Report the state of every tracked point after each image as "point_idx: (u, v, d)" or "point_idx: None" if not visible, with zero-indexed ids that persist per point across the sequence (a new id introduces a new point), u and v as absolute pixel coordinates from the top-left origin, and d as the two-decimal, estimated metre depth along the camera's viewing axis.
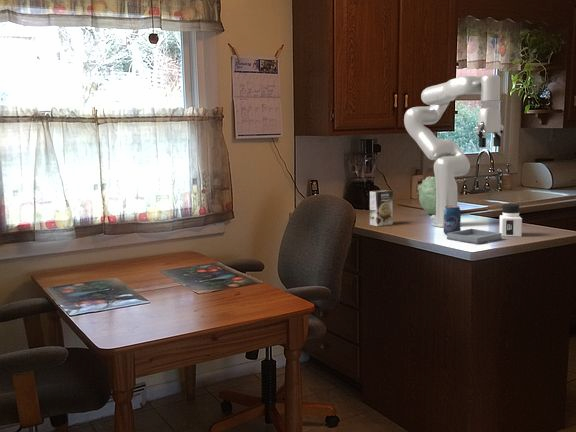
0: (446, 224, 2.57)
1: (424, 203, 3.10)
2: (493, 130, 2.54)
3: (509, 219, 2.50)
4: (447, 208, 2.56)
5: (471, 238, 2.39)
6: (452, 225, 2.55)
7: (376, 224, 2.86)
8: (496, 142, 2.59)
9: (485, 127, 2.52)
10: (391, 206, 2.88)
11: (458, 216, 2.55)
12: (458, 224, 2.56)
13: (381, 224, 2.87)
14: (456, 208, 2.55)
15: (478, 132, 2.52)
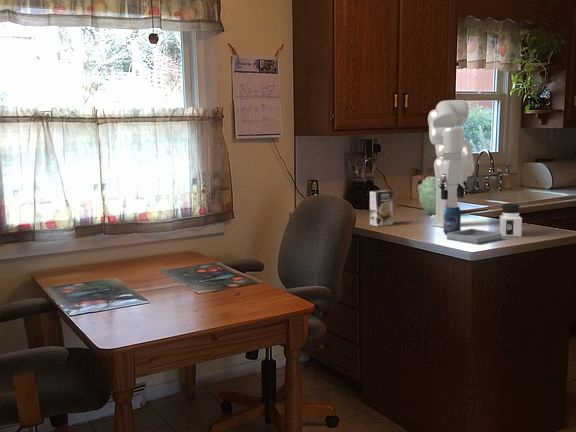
0: (446, 224, 2.57)
1: (424, 203, 3.10)
2: (455, 182, 2.54)
3: (509, 219, 2.50)
4: (447, 208, 2.56)
5: (471, 238, 2.39)
6: (452, 225, 2.55)
7: (376, 224, 2.86)
8: (459, 193, 2.59)
9: (447, 179, 2.52)
10: (391, 206, 2.88)
11: (458, 216, 2.55)
12: (458, 224, 2.56)
13: (381, 224, 2.87)
14: (456, 208, 2.55)
15: (440, 184, 2.51)
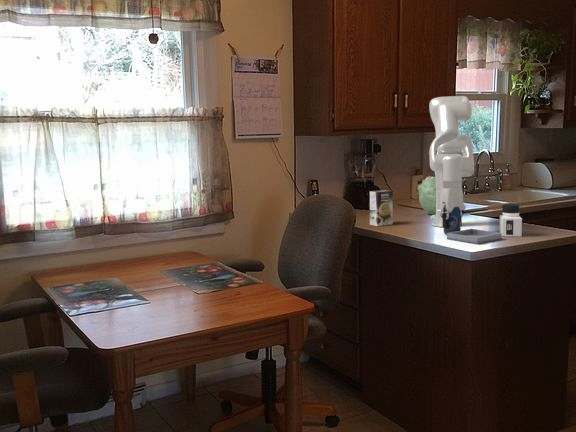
0: None
1: (424, 203, 3.10)
2: None
3: (509, 219, 2.50)
4: None
5: (471, 238, 2.39)
6: (452, 225, 2.55)
7: (376, 224, 2.86)
8: None
9: (447, 209, 2.54)
10: (391, 205, 2.88)
11: (458, 216, 2.55)
12: (458, 224, 2.56)
13: (381, 224, 2.87)
14: (456, 208, 2.55)
15: (441, 214, 2.54)
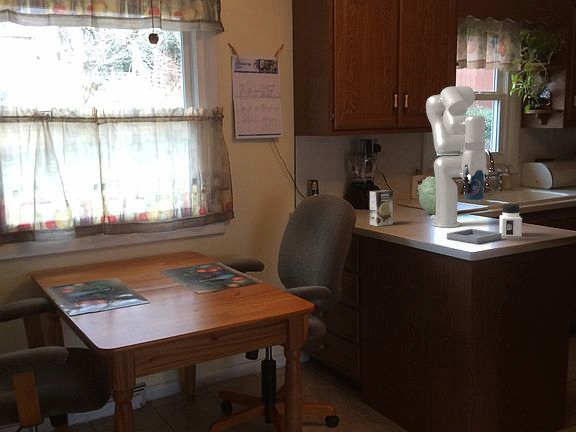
0: None
1: (424, 203, 3.10)
2: None
3: (509, 219, 2.50)
4: None
5: (471, 238, 2.39)
6: (475, 189, 2.41)
7: (376, 224, 2.86)
8: None
9: (469, 172, 2.40)
10: (391, 205, 2.88)
11: (481, 180, 2.41)
12: (481, 188, 2.42)
13: (381, 224, 2.87)
14: (479, 171, 2.41)
15: (463, 178, 2.40)
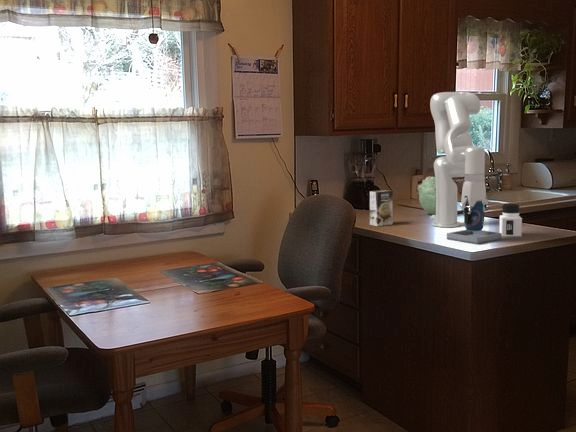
0: None
1: (424, 203, 3.10)
2: None
3: (509, 219, 2.50)
4: None
5: (471, 238, 2.39)
6: (474, 220, 2.43)
7: (376, 224, 2.86)
8: None
9: (469, 203, 2.42)
10: (391, 205, 2.88)
11: (481, 211, 2.43)
12: (481, 219, 2.44)
13: (381, 224, 2.87)
14: (479, 202, 2.43)
15: (463, 209, 2.42)
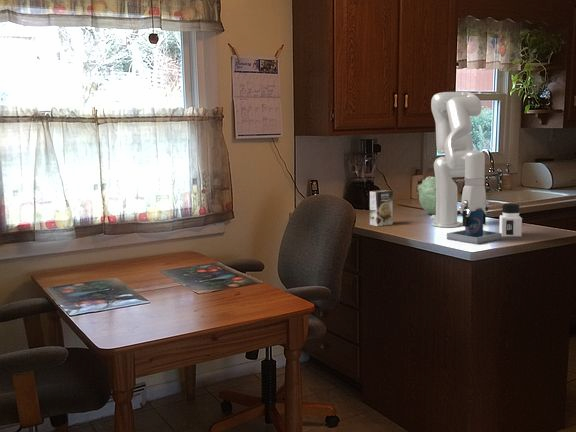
0: (468, 227, 2.45)
1: (424, 203, 3.10)
2: (477, 208, 2.44)
3: (509, 219, 2.50)
4: None
5: (471, 238, 2.39)
6: (474, 227, 2.44)
7: (376, 224, 2.86)
8: None
9: (469, 206, 2.42)
10: (391, 205, 2.88)
11: (481, 218, 2.44)
12: (481, 227, 2.44)
13: (381, 224, 2.87)
14: (479, 210, 2.44)
15: (461, 211, 2.41)
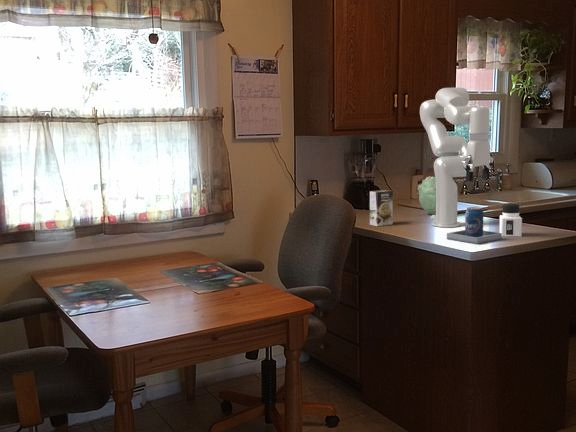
0: (468, 227, 2.45)
1: (424, 203, 3.10)
2: (481, 163, 2.47)
3: (509, 219, 2.50)
4: (469, 210, 2.45)
5: (471, 238, 2.39)
6: (474, 227, 2.44)
7: (376, 224, 2.86)
8: (485, 175, 2.52)
9: (473, 161, 2.45)
10: (391, 206, 2.88)
11: (481, 218, 2.44)
12: (481, 227, 2.44)
13: (381, 224, 2.87)
14: (479, 210, 2.44)
15: (465, 166, 2.44)
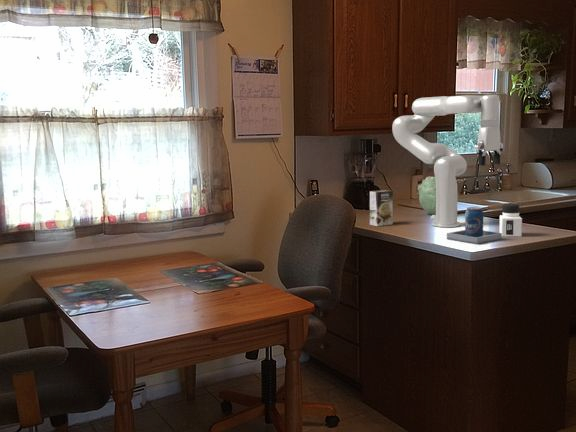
0: (468, 227, 2.45)
1: (424, 203, 3.10)
2: (493, 148, 2.61)
3: (509, 219, 2.50)
4: (469, 210, 2.45)
5: (471, 238, 2.39)
6: (474, 227, 2.44)
7: (376, 224, 2.86)
8: (496, 160, 2.66)
9: (485, 146, 2.59)
10: (391, 206, 2.88)
11: (481, 218, 2.44)
12: (481, 227, 2.44)
13: (381, 224, 2.87)
14: (479, 210, 2.44)
15: (478, 151, 2.58)
